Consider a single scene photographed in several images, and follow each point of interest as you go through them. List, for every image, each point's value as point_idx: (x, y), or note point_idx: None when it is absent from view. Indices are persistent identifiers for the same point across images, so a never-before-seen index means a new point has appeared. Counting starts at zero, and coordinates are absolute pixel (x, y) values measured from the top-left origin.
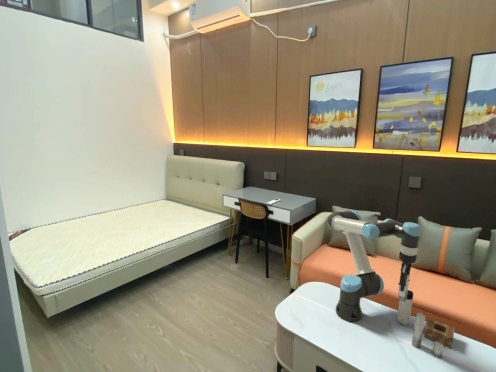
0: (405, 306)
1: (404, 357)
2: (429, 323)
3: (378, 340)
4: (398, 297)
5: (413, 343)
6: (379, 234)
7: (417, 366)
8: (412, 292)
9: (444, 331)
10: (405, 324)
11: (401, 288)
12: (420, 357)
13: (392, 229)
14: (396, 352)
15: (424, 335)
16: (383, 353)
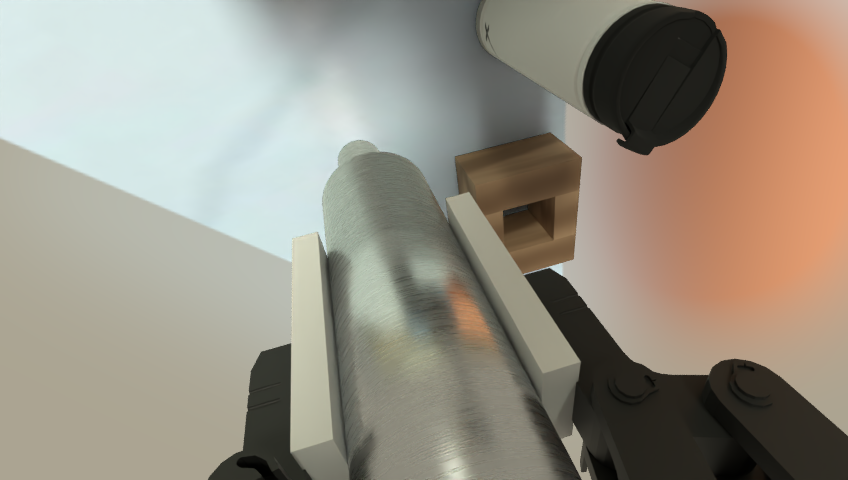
0: (541, 70)
1: (207, 166)
2: (531, 183)
3: None
4: (332, 191)
5: (340, 161)
6: None
7: (218, 225)
8: (690, 124)
9: (541, 221)
10: (484, 48)
11: (255, 425)
12: (291, 208)
13: None
14: (195, 123)
15: (458, 164)
16: (94, 76)
